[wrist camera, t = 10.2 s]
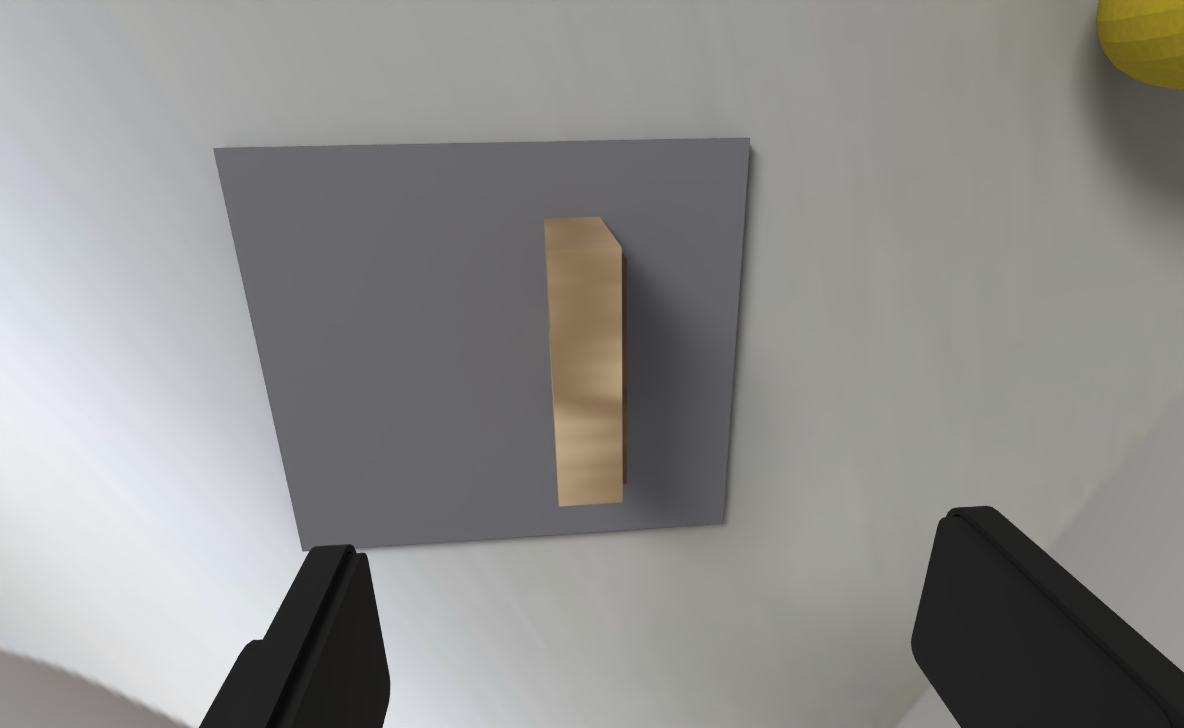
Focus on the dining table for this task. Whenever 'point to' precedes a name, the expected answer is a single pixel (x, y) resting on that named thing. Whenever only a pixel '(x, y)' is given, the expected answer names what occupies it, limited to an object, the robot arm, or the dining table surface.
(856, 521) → the dining table surface
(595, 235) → the wooden box
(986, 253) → the dining table surface
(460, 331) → the mat
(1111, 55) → the lemon
